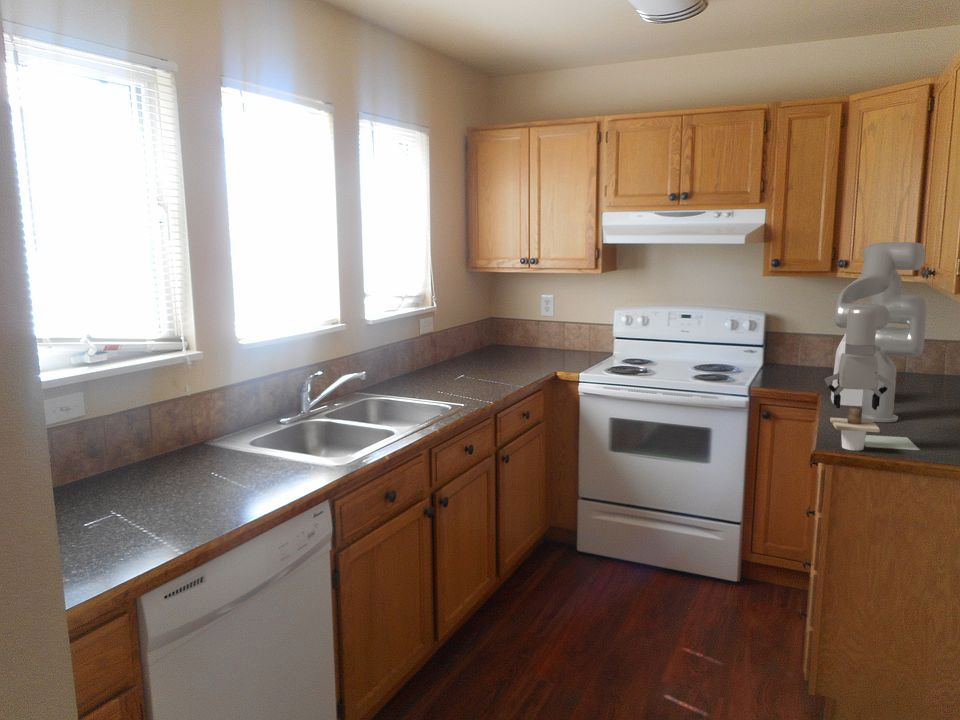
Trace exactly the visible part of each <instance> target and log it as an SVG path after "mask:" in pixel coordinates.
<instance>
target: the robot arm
mask: <svg viewBox="0 0 960 720" xmlns="http://www.w3.org/2000/svg"><path fill="white" fill-rule="evenodd" d="M862 253H863V254H862V257H863V258H862V259H863V266H862V269H861V272H860V277H859V278H857V279H855V280H854V281H851V282H850V283H849V284H848V285H846V287H844V288H843V289H842V291H841V292H840V293H839V295H838V296H837V297H838V298H837V301H836V305H835V309H834V314H833V321H834V324H835V325H836V326H837V327H839V328H842V329H845V330H846V331H845V334H846V345H845V353H843V354H842V355H841V358H840V363H839V369H838V373H837V374H835V375H831V376H828V377H825V378H824V383H825V384H826V385H827V388H828V389H829V390H830V392H831V391H832V392H833V393H834V405H835V408H836V409H840V408H841V405H840V399H841V395H840V392H841V391H842V390H843V389H860V390H863V397H862V406H861V408H862V418H861V419H869V420H872V421H873V422H874V423H893V422H894V423H895V422H897V421H899V416H898V415H897V414H894V409H895V408H894V407H895V394H896V385H897V384H896V383H897V367H896V364H895V363H894V361H893V360H892V359H891V358H890V356H891V357H894V356H895V357H908V358H909V357H910V358H916V357H918V356H920V355H922V353H923V351H924V347H925V337H926V324H927V321H926V320H927V303H926V300H925V298H924V297H923V296H921V295H917V294H916V295H915V294H902V286H903V285H902V284H903V279H902V277H901V275H900V274H899V272H898V270H899V271H918V270H920V269H921V268H922V267H923V265H924V264H925V261H926V249H925V246H924V245H923V244H922V243H921V242H915V241H914V242H912V241H904V242H903V241H900V242H899V241H897V242H896V241H895V242H894V241H891V242H887V241H886V242H877V243H876V242H875V243H871V244H868V245H866V246H865V247H864V249H863V251H862ZM869 297H871V300H870V303H858V302H857V303H855V302H856V301H859V300H861V299H865V298H869ZM888 324H903V325H907V326H908V327H897V326H887V325H888ZM836 379H837V383H838V386H837V387H836V388H835V387H833V386H832V383H833V381H834V380H836Z"/></svg>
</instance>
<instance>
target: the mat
mask: <svg viewBox="0 0 960 720" xmlns="http://www.w3.org/2000/svg"><path fill="white" fill-rule="evenodd" d="M864 447H865V448H877V449H880V448H881V449H893V450H894V449H895V450H908V451H909V450H910V451H911V450H912V451H921V449H920V448H919V447H917V445H915V444H914V442H912V441H911V439H909V438H908V437H907V436H887V435H875V434H873V435H871V434H870V435H869V434H866V438H865V443H864Z"/></svg>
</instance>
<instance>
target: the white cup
mask: <svg viewBox="0 0 960 720" xmlns="http://www.w3.org/2000/svg"><path fill="white" fill-rule="evenodd" d="M840 431H841V432H840V433H841V437H840V438H841V448H842V449H845V450H847V451H848V450H849V451H863V450H864V449H865V445H864V443H865V438H866V435H867V432H865V431H848V430H840Z"/></svg>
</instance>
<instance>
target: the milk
mask: <svg viewBox="0 0 960 720" xmlns="http://www.w3.org/2000/svg"><path fill="white" fill-rule="evenodd" d="M845 345H846V333H845V334H844V336H843V337H842V339H841V341H840V343H839V344H838V346H837V349H836V351H835V356H834V357H835V358H834V367H833V375H835V374H837V373H838V369H839V363H840V358H841V355H842V354H843V353H845ZM831 384H832V386H833V387H835V388H836V387H837V386H838V383H837V379H836V380H834V381H832V382H831ZM840 395H841V399H840V406H848V407H862V397H863V390H860V389H843V390H842V391H841V392H840ZM830 400H831V403H832V405H834V393H833V392H832V391H831V390H830Z"/></svg>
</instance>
